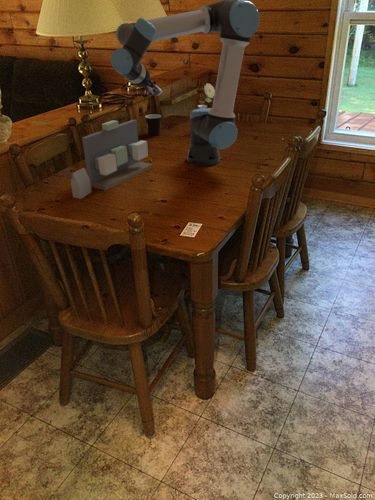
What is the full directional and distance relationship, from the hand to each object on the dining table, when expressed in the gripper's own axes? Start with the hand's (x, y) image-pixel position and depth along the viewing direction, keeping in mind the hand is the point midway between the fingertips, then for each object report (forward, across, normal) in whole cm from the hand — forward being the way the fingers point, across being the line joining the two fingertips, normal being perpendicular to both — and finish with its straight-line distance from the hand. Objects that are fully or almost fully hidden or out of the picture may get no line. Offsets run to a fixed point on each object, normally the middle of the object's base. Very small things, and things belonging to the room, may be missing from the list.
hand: (159, 92), depth 183 cm
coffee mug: (+48, -6, -21) cm, 53 cm away
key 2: (0, +16, -24) cm, 29 cm away
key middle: (-8, +15, -31) cm, 35 cm away
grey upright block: (-25, +25, -44) cm, 56 cm away
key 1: (-17, +19, -34) cm, 42 cm away
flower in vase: (+59, +6, +1) cm, 59 cm away
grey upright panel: (-5, +19, -34) cm, 39 cm away
